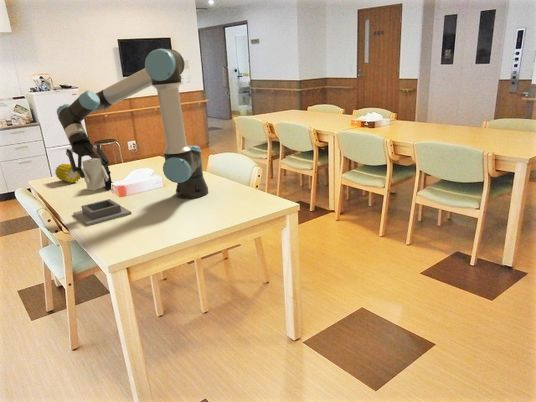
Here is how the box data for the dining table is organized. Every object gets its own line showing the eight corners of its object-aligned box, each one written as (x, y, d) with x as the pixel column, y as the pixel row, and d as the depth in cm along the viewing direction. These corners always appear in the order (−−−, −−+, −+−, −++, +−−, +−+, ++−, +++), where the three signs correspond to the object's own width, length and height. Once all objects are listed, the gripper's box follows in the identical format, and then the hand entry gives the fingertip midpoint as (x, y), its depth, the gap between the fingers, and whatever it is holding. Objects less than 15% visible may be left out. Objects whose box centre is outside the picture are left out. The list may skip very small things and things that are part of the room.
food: (56, 180, 231) (52, 163, 228) (78, 177, 237) (75, 159, 234) (60, 186, 219) (56, 168, 216) (84, 182, 225) (80, 164, 222)
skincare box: (98, 185, 175) (93, 157, 171) (106, 186, 173) (101, 158, 169) (86, 189, 170) (81, 161, 166) (94, 190, 168) (89, 161, 164)
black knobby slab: (107, 189, 205) (99, 160, 206) (103, 194, 216) (96, 167, 217) (114, 187, 207) (107, 159, 208) (111, 192, 218) (103, 165, 219)
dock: (114, 204, 187) (113, 196, 186) (131, 214, 174) (129, 205, 173) (73, 215, 176) (71, 206, 175) (87, 226, 163) (85, 216, 162)
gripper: (100, 139, 183) (120, 181, 176) (51, 146, 171) (71, 191, 164) (102, 128, 177) (123, 171, 171) (52, 135, 165) (73, 181, 159)
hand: (98, 181), depth 168 cm, fingers closed on skincare box, 7 cm apart
